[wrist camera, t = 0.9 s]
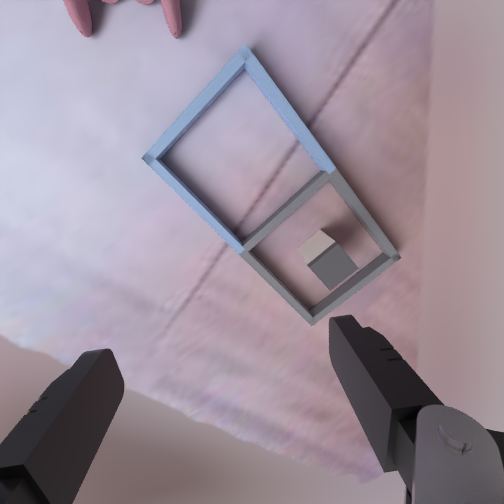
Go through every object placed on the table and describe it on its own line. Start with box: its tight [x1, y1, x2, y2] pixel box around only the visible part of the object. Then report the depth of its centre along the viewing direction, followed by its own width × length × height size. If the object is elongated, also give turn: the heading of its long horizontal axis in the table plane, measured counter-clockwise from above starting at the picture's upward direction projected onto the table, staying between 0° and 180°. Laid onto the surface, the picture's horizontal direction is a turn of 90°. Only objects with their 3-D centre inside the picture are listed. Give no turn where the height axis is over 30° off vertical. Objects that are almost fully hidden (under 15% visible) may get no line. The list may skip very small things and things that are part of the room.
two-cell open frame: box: [142, 44, 401, 326], centre depth 30 cm, size 15×30×2 cm, turn 42°
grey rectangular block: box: [296, 230, 358, 290], centre depth 30 cm, size 4×4×6 cm
